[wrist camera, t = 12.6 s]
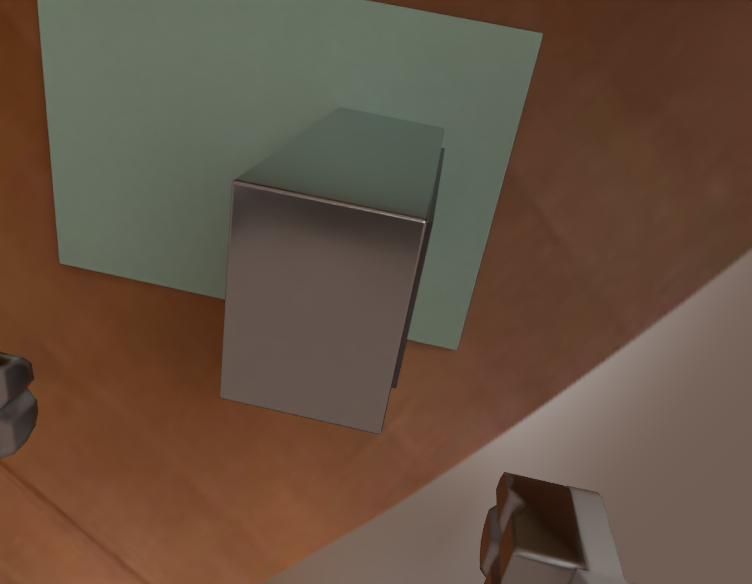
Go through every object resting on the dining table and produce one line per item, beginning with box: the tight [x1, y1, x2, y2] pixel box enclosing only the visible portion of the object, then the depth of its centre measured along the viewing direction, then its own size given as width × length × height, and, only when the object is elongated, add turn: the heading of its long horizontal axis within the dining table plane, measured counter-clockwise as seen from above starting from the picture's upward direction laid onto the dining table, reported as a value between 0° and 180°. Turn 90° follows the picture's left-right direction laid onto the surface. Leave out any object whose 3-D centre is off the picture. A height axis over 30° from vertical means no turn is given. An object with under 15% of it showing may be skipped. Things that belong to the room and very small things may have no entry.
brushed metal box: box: [220, 107, 445, 434], centre depth 19 cm, size 5×6×12 cm
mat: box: [37, 0, 543, 350], centre depth 25 cm, size 20×14×1 cm
